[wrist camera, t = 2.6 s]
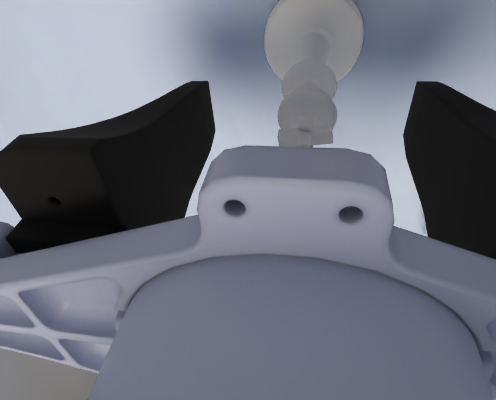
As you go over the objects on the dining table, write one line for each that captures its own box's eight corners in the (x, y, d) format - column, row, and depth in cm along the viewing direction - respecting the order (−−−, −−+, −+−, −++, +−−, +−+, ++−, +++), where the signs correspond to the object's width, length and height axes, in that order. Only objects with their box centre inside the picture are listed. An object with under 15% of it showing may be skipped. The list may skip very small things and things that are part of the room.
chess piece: (255, -5, 17) (205, 85, 10) (363, -27, 16) (395, 57, 9) (272, 91, 20) (243, 213, 13) (363, 79, 19) (387, 206, 12)
